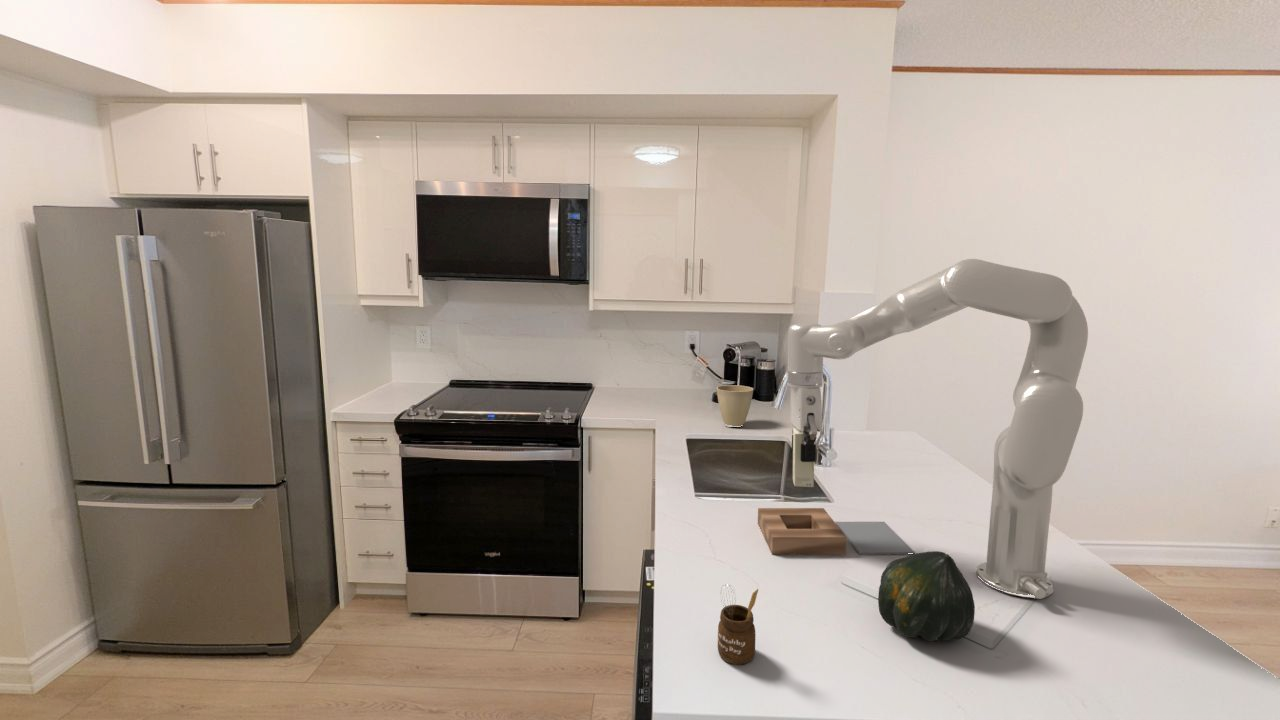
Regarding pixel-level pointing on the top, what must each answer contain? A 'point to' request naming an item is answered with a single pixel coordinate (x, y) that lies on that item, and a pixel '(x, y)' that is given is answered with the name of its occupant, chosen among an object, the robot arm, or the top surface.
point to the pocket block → (801, 531)
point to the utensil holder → (737, 632)
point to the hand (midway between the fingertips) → (803, 455)
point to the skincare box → (801, 463)
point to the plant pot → (734, 403)
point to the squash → (926, 597)
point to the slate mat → (873, 538)
